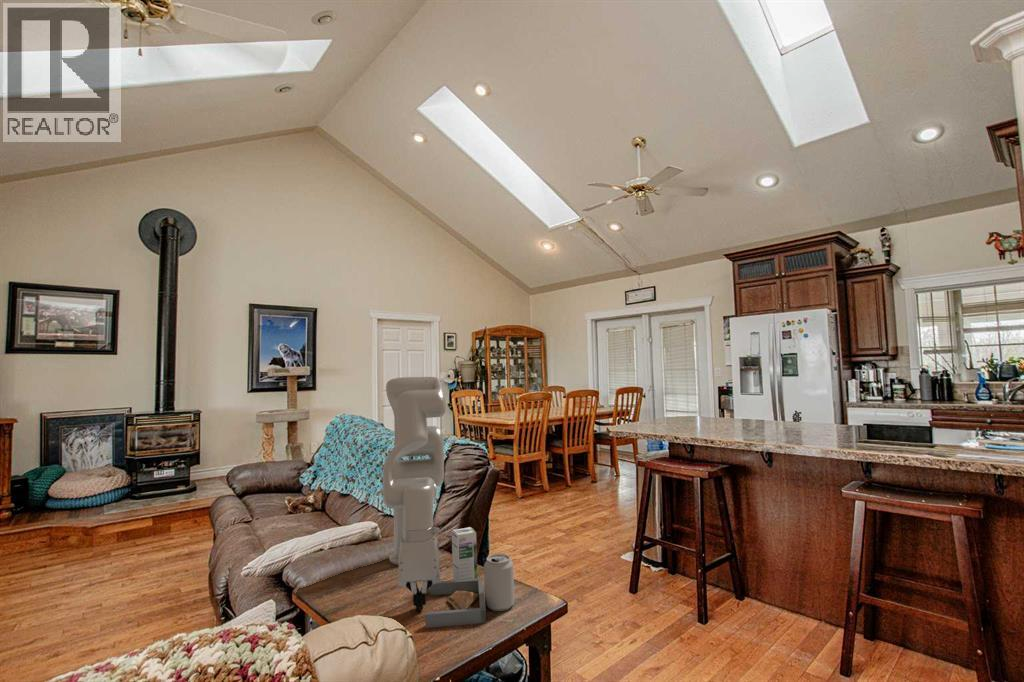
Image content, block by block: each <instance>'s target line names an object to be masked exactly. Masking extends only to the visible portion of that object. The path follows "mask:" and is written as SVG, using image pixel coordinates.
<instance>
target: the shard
mask: <svg viewBox="0 0 1024 682" xmlns="http://www.w3.org/2000/svg"><path fill="white" fill-rule="evenodd" d="M478 599H479V595H478V594H477V593H476V592H467V591H461V590H458V591H456V592H455V593H454V594H450V595H449V596H447V597H446V601H447V602H448V603H449V604H450V605H452V607H453V609H454V610H459V609H470V607H471V605H473V604H474V602H475V601H477V600H478Z"/></svg>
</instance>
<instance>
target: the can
mask: <svg viewBox="0 0 1024 682" xmlns="http://www.w3.org/2000/svg"><path fill="white" fill-rule="evenodd" d="M483 575H484V578H483V579H484V582H483V583H484V599H485V607H486V606H487V608H488V609H489V610H491V611H494V612H505V611H507V610H509V609H510V608H511V607H512V606H513V605H514V604H515V584H514V583H515V582H514V581H515V580H514V579H515V578H514V562H513V561H512V560H511V556H510V555H509V554H505V553H493V554H490V555H488V556H487V557H486V561H485V562H484V564H483Z"/></svg>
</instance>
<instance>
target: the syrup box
mask: <svg viewBox="0 0 1024 682" xmlns="http://www.w3.org/2000/svg"><path fill="white" fill-rule="evenodd" d="M477 550H478V549H477V532H476V531H475V530H474V528H472V527H471V526H468V527H464V528H458V529H451V552H452V554H451V555H452V580H466V579H479V576H478V551H477Z"/></svg>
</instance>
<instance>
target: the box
mask: <svg viewBox="0 0 1024 682" xmlns="http://www.w3.org/2000/svg"><path fill="white" fill-rule="evenodd" d="M458 590H461V591H467V592H473V593H478V595H479V597H478V605H479V607H471V608H468V609H459V610H455V609H450V610H449V609H448V610H437V611H425V613H424V616H425V617H424V618H425V626H424V627H425V629H429V628H431V629H432V628H440V627H443V628H444V627H453V626H463V625H476V624H486V623H487V611H486V610H487V609H486V604H485V589H484V582H483V578H482V577H478V579H466V580H453V579H451V580H443V581H442V580H441V581H440V582H439V583H437V584H434V585H431V586H430V588H429V596H440V595H442V596H443V595H452V594H454V593H455V592H456V591H458Z"/></svg>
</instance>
